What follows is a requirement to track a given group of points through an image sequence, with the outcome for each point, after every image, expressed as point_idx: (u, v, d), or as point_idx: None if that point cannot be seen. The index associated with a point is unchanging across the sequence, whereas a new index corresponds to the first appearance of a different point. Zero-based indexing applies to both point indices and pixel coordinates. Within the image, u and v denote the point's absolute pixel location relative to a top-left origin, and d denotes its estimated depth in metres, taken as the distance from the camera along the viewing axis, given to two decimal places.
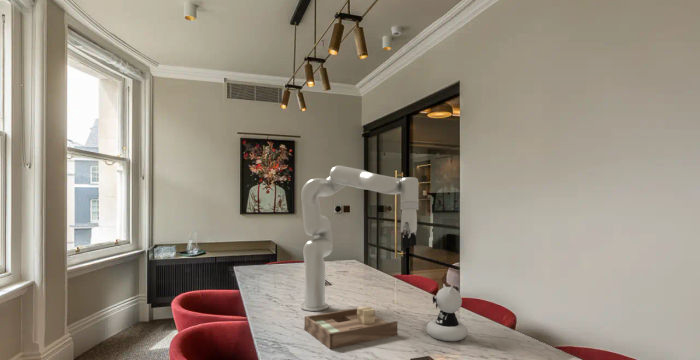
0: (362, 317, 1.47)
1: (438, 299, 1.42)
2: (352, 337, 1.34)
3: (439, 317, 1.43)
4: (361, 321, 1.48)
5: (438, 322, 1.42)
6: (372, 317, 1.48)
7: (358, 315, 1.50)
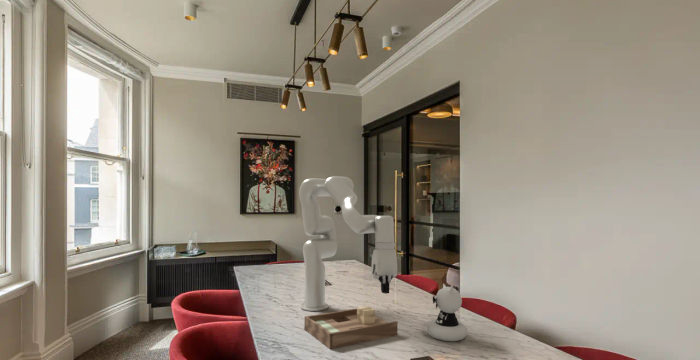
0: (362, 317, 1.47)
1: (438, 299, 1.42)
2: (352, 337, 1.34)
3: (439, 317, 1.43)
4: (361, 321, 1.48)
5: (438, 322, 1.42)
6: (372, 317, 1.48)
7: (358, 315, 1.50)
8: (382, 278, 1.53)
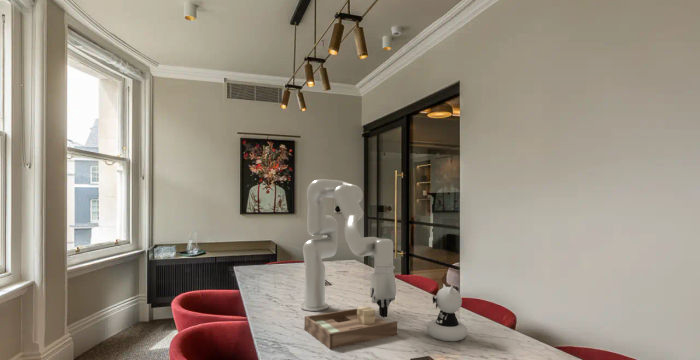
0: (362, 317, 1.47)
1: (438, 299, 1.42)
2: (352, 337, 1.34)
3: (439, 317, 1.43)
4: (361, 321, 1.48)
5: (438, 322, 1.42)
6: (372, 317, 1.48)
7: (358, 315, 1.50)
8: (380, 302, 1.52)
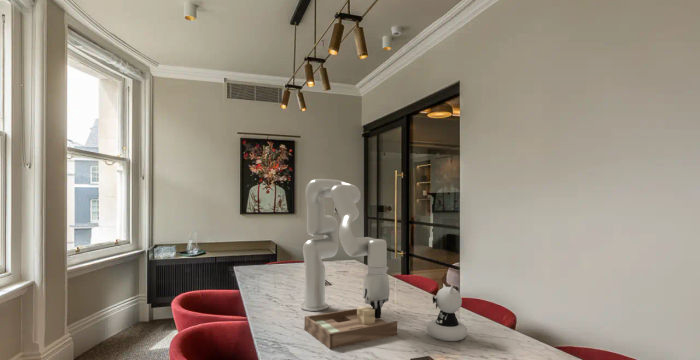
0: (362, 317, 1.47)
1: (438, 299, 1.42)
2: (352, 337, 1.34)
3: (439, 317, 1.43)
4: (361, 321, 1.48)
5: (438, 322, 1.42)
6: (372, 317, 1.48)
7: (358, 315, 1.50)
8: (374, 303, 1.51)
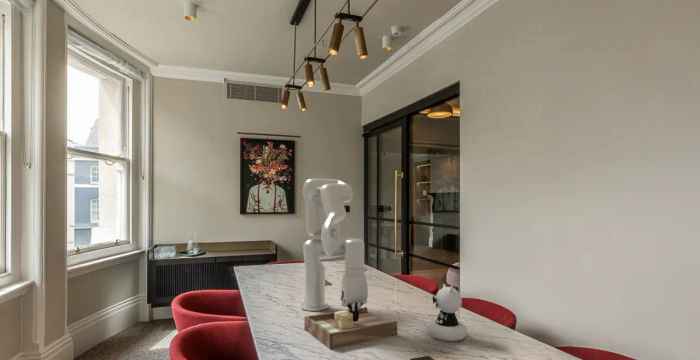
0: (339, 322, 1.41)
1: (438, 299, 1.42)
2: (352, 337, 1.34)
3: (439, 317, 1.43)
4: (338, 326, 1.42)
5: (438, 322, 1.42)
6: (350, 322, 1.43)
7: (336, 320, 1.44)
8: (351, 305, 1.45)
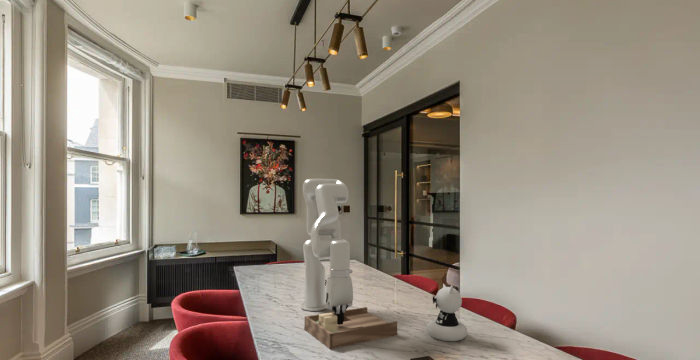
0: (323, 324, 1.38)
1: (438, 299, 1.42)
2: (352, 337, 1.34)
3: (439, 317, 1.43)
4: None
5: (438, 322, 1.42)
6: (334, 324, 1.39)
7: (320, 322, 1.41)
8: (336, 308, 1.42)
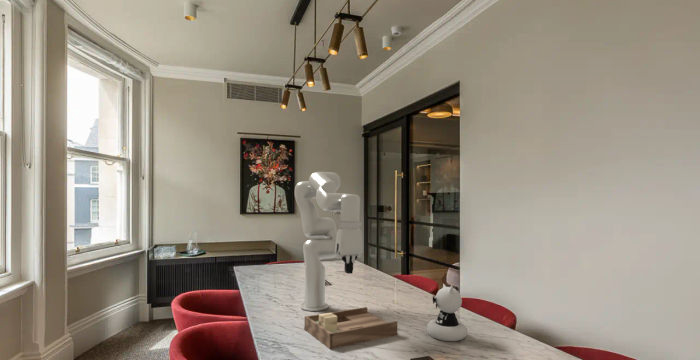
0: (323, 324, 1.38)
1: (438, 299, 1.42)
2: (352, 337, 1.34)
3: (439, 317, 1.43)
4: None
5: (438, 322, 1.42)
6: (334, 324, 1.39)
7: (320, 322, 1.41)
8: (345, 258, 1.49)
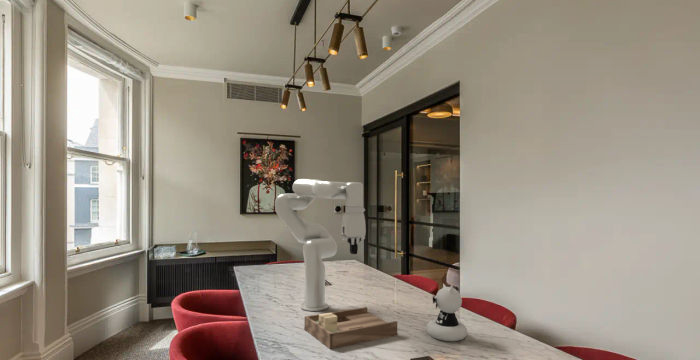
0: (323, 324, 1.38)
1: (438, 299, 1.42)
2: (352, 337, 1.34)
3: (439, 317, 1.43)
4: None
5: (438, 322, 1.42)
6: (334, 324, 1.39)
7: (320, 322, 1.41)
8: (351, 240, 1.64)
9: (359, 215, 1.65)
